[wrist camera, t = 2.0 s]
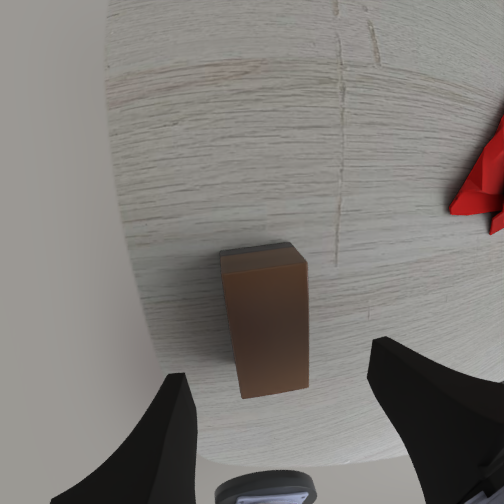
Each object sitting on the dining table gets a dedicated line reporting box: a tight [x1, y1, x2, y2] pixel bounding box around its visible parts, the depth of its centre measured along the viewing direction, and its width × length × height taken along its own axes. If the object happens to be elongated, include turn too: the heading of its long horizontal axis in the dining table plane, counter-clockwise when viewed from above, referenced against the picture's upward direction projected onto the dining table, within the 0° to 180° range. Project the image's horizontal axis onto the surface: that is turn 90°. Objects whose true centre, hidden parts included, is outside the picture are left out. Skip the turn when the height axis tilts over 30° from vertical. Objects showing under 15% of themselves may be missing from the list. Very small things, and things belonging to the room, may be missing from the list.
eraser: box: [220, 242, 309, 399], centre depth 14 cm, size 7×4×3 cm, turn 6°
